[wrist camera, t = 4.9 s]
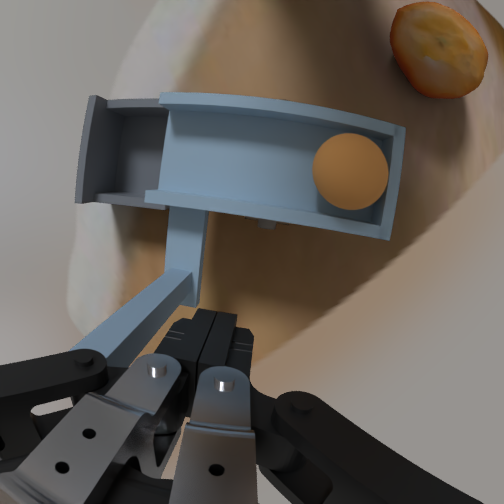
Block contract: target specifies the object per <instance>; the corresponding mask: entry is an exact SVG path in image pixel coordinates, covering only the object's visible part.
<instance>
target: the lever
mask: <svg viewBox="0 0 504 504" xmlns="http://www.w3.org/2000/svg"><path fill="white" fill-rule="evenodd" d="M158 104H160V105H162V106H163V107H165V108H166V109H168V110H169V117H168V123H167V129H166V135H165V141H164V148H163V155H162V162H161V170H160V178H159V186H158V190H145V200H144V202H146V203H154V204H162V205H170V210H169V220H168V231H167V243H166V257H165V273H164V274H163V275H162V276H160V277H159V278H158V279H157V280H155V281H154V282H153V283H151V284H150V285H149V286H148V287H146V288H145V289H144V290H143V291H141V292H140V293H139V294H137V295H136V296H135V297H134V298H132V299H131V300H130V301H129V302H127V303H126V304H125V305H124V306H122V307H121V308H120V309H119V310H118V311H116V312H115V313H114V314H113V315H111V316H110V317H109V318H108V319H106V320H105V321H104V322H103V323H102V324H100V325H99V326H98V327H97V328H96V329H94V330H93V331H92V332H91V333H89V334H88V335H87V336H86V337H85V338H83V339H82V340H81V341H80V342H79V343H78V344H76V345H75V346H74V347H73V348H72V349H70V350H69V351H72V350H77V349H92V350H96V351H98V352H100V353H102V354H103V355H104V356H105V358H106V361H107V366H110V367H126V368H128V367H129V366H130V364H131V363H132V362H133V361H134V359H135V358H136V357H137V356H138V354H139V353H140V352H141V351H142V350H143V348H144V347H145V346H146V345H147V343H148V342H149V341H150V340H151V339H152V337H153V336H154V335H155V334H156V332H157V331H158V330H159V329H160V328H161V326H162V325H163V324H164V323H165V322H166V320H167V319H168V318H169V317H170V315H171V314H172V313H173V312H174V311H175V309H176V308H177V307H178V306H179V305H184V306H189V307H194V308H196V307H197V305H198V304H199V301H200V290H201V279H202V269H203V259H204V250H205V241H206V232H207V223H208V215H209V211H215V212H222V213H229V214H236V215H242V216H249V217H255V218H262V219H268V220H275V221H281V222H287V223H293V224H299V225H305V226H311V227H317V228H323V229H328V230H334V231H340V232H345V233H351V234H356V235H362V236H367V237H372V238H378V239H383V240H388V241H390V236H391V231H392V226H393V221H394V215H395V209H396V204H397V198H398V191H399V184H400V177H401V170H402V162H403V153H404V143H405V132H406V128H405V127H402V126H399V125H396V124H392V123H389V122H385V121H381V120H378V119H374V118H370V117H366V116H362V115H358V114H354V113H349V112H345V111H340V110H336V109H331V108H326V107H321V106H315V105H310V104H304V103H298V102H291V101H285V100H277V99H269V98H261V97H252V96H241V95H229V94H212V93H181V92H162V93H160V98H159V103H158ZM344 133H354V134H359V135H362V136H364V137H366V138H368V139H370V140H371V141H373V142H374V143H375V144H376V145H377V146H378V147H379V148H380V149H381V151H382V153H383V154H384V156H385V158H386V161H387V165H388V173H389V174H388V182H387V185H386V188H385V190H384V192H383V194H382V195H381V196H380V198H379V199H378V200H377V201H375V202H374V203H373V204H371V205H370V206H368V207H365V208H363V209H358V210H346V209H342V208H338V207H336V206H334V205H332V204H331V203H329V202H328V201H327V200H326V199H325V198H323V196H322V195H321V194H320V193H319V191H318V189H317V187H316V185H315V183H314V180H313V174H312V166H313V160H314V157H315V154H316V153H317V151H318V149H319V148H320V146H321V145H322V144H323V143H324V142H325V141H327V140H328V139H330V138H331V137H333V136H336V135H339V134H344Z"/></svg>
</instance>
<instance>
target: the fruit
mask: <svg viewBox="0 0 504 504" xmlns="http://www.w3.org/2000/svg"><path fill="white" fill-rule="evenodd" d="M390 44H391V47H392V51H393V54H394V57H395V59H396V61H397V63H398V65H399V67H400V69H401V70H402V72H403V73H404V74H405V76H406V77H407V79H408V80H409V82H410V83H411V85H412V86H413V87H414V88H415V89H416V90H417V91H418V92H420V93H421V94H423V95H425V96H427V97H430V98H443V99H454V98H460V97H462V96H465V95H467V94H469V93H470V92H472V91H473V90H475V89H476V88H477V87H478V86H479V85H480V83H481V81H482V79H483V77H484V72H485V69H486V65H487V61H488V52H487V49H486V46H485V44H484V42H483V40H482V38H481V37H480V35H479V33H478V32H477V30H476V29H475V28H474V27H473V26H472V25H471V23H470V22H468V21H467V20H466V19H465V18H464V17H463V16H462V15H460V14H459V13H457V12H456V11H455V10H453V9H450V8H449V7H446V6H443V5H441V4H439V3H435V2H419V3H413V4H409V5H406V6H404V7H402V8H399V9H398V10H397V12H396V15H395V18H394V20H393V23H392V27H391V32H390Z"/></svg>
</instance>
